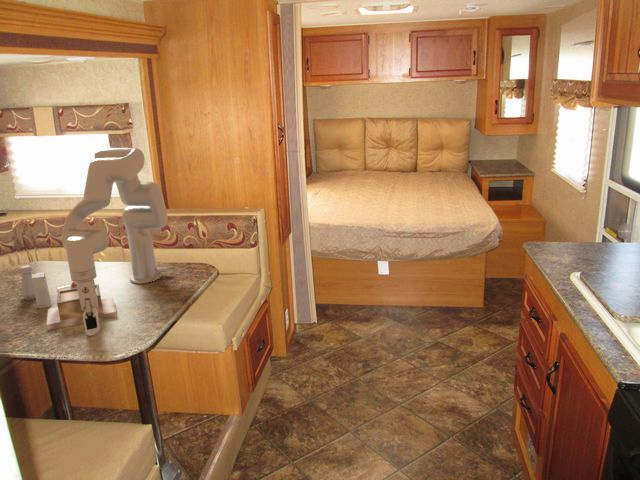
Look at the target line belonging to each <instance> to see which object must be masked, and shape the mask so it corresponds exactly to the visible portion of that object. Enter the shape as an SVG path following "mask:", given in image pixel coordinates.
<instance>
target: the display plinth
mask: <svg viewBox="0 0 640 480" xmlns="http://www.w3.org/2000/svg"><path fill="white" fill-rule="evenodd" d="M95 288H96V294H97V301H98V308H97V312H98V317H99V321H103V320H107V319H112V318H116V317H117V316H118V315H117V311H116V305H115V300H114V297H108V298H103V299H102V296H101V291H100V284H98V283H97V284H95ZM56 301H57V302H56V304H57V306H56V307H52V308H48V309H47V317H46V327H47V328H46V329H47V331H50V330H54V329H59V328H65V327H70V326H76V325H80V324H84V321H83V313H84V311H83V310H82V308H81V304H80V300H79V296H78V291H77V288H73V289H71V288H66V289H61V291H58V290H57V298H56Z"/></svg>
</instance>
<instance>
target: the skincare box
mask: <svg viewBox="0 0 640 480" xmlns="http://www.w3.org/2000/svg"><path fill="white" fill-rule="evenodd" d="M31 274H32V283H33V288H34V292H35V296H36V298H35V301H36V304H37V308H38V309H43V308H49V307H51V304H52V299H51V295H50V292H49V287H48V282H47V278H46V273H45V271H39V272H35V273H31Z"/></svg>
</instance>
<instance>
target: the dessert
mask: <svg viewBox="0 0 640 480" xmlns="http://www.w3.org/2000/svg"><path fill="white" fill-rule="evenodd" d="M73 288H77V285H76V282H73V281H72V283H71V284H68V285H65V286H60V287H57V288H56V290H57V292H58V291H61V290H66V289H73Z"/></svg>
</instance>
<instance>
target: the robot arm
mask: <svg viewBox="0 0 640 480" xmlns="http://www.w3.org/2000/svg"><path fill="white" fill-rule="evenodd" d="M145 160H146V159H145V154H144V153H143V151H142V150H141V149H140V148H137V147H123V148H122V147H104V148H100V149H99V148H98V149H97V150H96V151H95V153H94V159H93V160H92V161H90V163H89V165H88V170H87V174H86V181H85V187H84V193H83V197H82V199H81V200H80V201H79V202H78V203H76V204H75V206H73V208H72V209H71V211H70V212H69V213H68V214H67V216H66V218H65V220H64V225H63V228H62V229H63V230H62V235H61V237H62V238H61V241H62V246H63V248H64V249H65V252H66V257H67V258H66V259H67V263H68V269H69V274H70V275H69V276H70V280H71V281H72V282H76V285H77V291H78V296H79V300H80V304H81V308H82V310H83V311H85V317H86V318H85V321H86V327H87V330H89V329H94V328H97V321H96V316H95V314H94V308H96V309H97V308H98V301H97V294H96V288H95V285H96V284H95V279H96V278H97V276H98V275H97V271H96V270H97V269H96V263H95V258H94V255H95V254H98V253H101V252H103V251H105V250H106V249H107V248H108V246H109V245H110V236H109V234H108V232H107V231H105V230H104V229H96V228H94V229H93V228H91V229H89V228H82V229H81V228H80V229H79V227H80V226H81V223H82V222H83V221H84V220H85V219H86V218H87V217H89V216H90V215H93V214H95V213H96V212H98V211H100V210H102V209H104V208H107V207H108V206H109V205H111V201H112V200H111V199H112V192H113V186H114V183H115V184H116V189H117V192H118V194H119V197H120V201H121V203H122V204H124V205H125V206H126V207H125V208H124V209H123V210H122V215H121V218H122V221H123V225H124V227H125V231H126V236H127V241H128V249H129V254H130V255H129V256H130V261H131V262H130V264H131V269H132V270H131V271H132V274H131V275H130V276H129V282H131V283H133V284H149V282H150V283H153V282H155V280H156V281H158V280H160V279H161V277H162V273H167V272H169V268H168V267H167V266H165V267H164V266H163V265H162V266H159V267H158V265H157V264H156V257H155V248H154V239H153V236H152V234H151V232H150V231H149V230H148V229H152V230H153V229H163V228H165V227H166V226H167V224H168V217H169V216H168V211H167V208H166V204H165V198H164V195H163V191H162V188H161V186H160V185H159V184H158V183H157V182H154V181H141V180H140V178H139V176H138V174H139V173H140V172H142V170H143V168H144V166H145V163H146V162H145ZM157 279H158V280H157ZM152 281H153V282H152ZM91 306H92V308H91ZM85 307H86V308H85ZM91 310H92V312H91Z"/></svg>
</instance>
